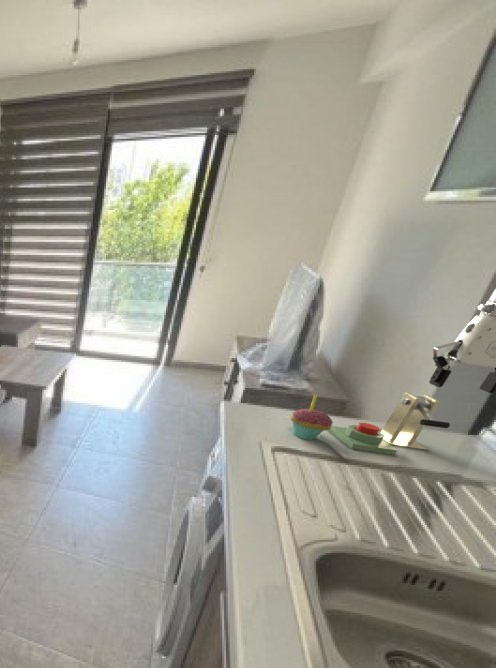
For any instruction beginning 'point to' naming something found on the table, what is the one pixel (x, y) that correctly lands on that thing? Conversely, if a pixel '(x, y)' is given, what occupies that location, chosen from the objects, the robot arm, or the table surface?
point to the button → (367, 428)
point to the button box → (362, 440)
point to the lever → (429, 415)
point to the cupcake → (310, 422)
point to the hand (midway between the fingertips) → (460, 388)
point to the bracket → (407, 422)
